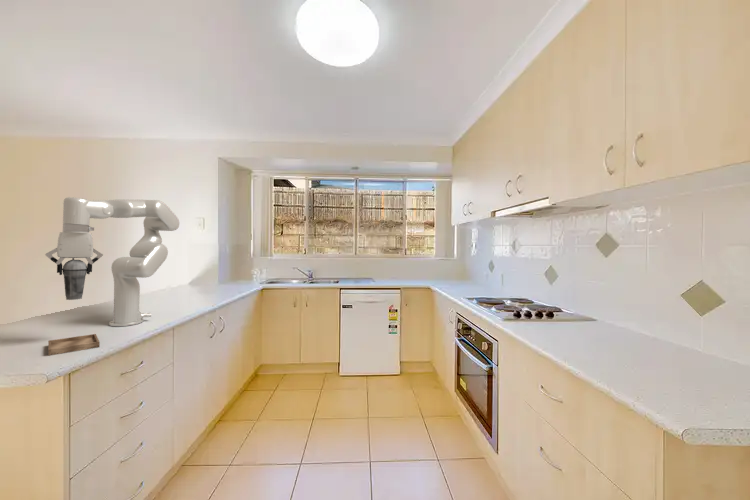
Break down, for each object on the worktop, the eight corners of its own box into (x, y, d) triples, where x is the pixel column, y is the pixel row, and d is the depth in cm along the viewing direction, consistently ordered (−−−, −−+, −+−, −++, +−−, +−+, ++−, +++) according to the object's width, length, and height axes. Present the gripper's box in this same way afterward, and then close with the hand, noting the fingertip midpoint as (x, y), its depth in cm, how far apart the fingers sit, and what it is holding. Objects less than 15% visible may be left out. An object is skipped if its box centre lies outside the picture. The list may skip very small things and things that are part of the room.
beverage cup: (91, 298, 123) (92, 248, 123) (68, 301, 116) (70, 248, 116) (79, 296, 125) (80, 248, 125) (56, 299, 118) (58, 247, 118)
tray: (95, 338, 123) (95, 333, 123) (99, 347, 114) (99, 341, 114) (48, 345, 113) (48, 340, 113) (48, 355, 104) (48, 349, 104)
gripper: (104, 231, 129) (103, 272, 130) (44, 227, 117) (42, 274, 117) (106, 230, 124) (104, 274, 124) (43, 227, 112) (41, 276, 112)
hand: (74, 273), depth 121 cm, fingers closed on beverage cup, 7 cm apart
